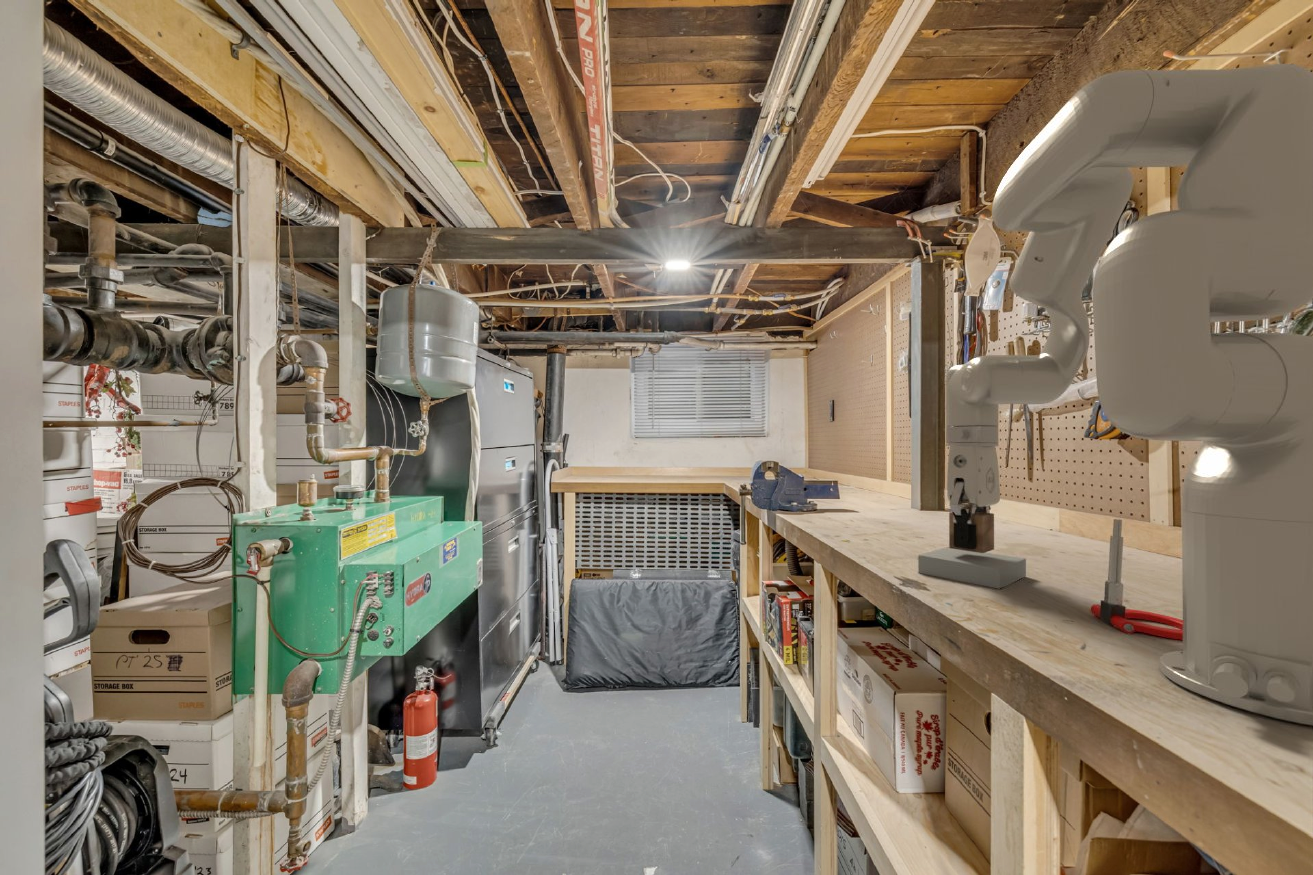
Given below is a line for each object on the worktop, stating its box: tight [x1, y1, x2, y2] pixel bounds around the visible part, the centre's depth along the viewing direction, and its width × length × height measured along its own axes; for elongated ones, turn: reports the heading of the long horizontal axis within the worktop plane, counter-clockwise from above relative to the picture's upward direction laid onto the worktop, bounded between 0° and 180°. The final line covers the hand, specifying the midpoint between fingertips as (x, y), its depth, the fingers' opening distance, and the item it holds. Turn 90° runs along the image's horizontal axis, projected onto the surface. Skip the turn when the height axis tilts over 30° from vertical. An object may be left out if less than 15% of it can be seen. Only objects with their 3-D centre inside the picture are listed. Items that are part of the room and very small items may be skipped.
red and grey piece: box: [1090, 518, 1183, 641], centre depth 61 cm, size 8×13×9 cm
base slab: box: [917, 546, 1027, 589], centre depth 85 cm, size 12×12×3 cm
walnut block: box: [948, 510, 995, 553], centre depth 85 cm, size 5×5×6 cm
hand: (971, 544), depth 85 cm, fingers closed on walnut block, 5 cm apart
